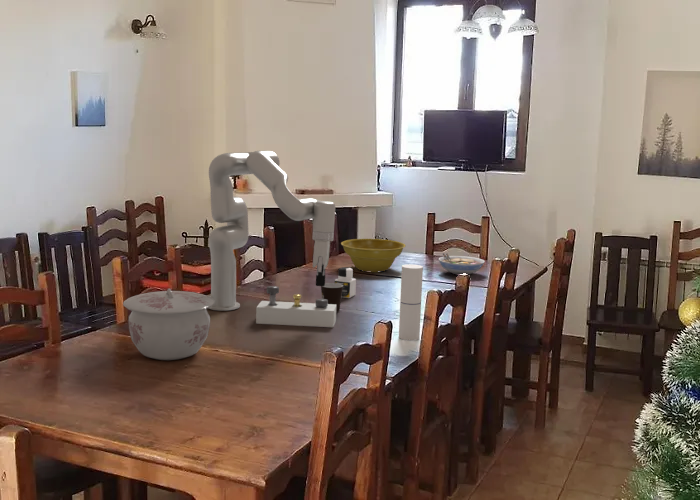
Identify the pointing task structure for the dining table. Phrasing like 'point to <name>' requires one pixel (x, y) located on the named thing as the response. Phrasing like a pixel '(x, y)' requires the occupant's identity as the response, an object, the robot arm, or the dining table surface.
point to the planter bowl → (372, 253)
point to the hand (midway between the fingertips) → (320, 285)
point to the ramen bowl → (461, 264)
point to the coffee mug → (332, 293)
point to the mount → (296, 314)
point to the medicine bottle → (346, 282)
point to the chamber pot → (169, 323)
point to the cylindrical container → (410, 302)
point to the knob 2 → (321, 303)
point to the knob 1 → (272, 294)
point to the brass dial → (296, 300)
